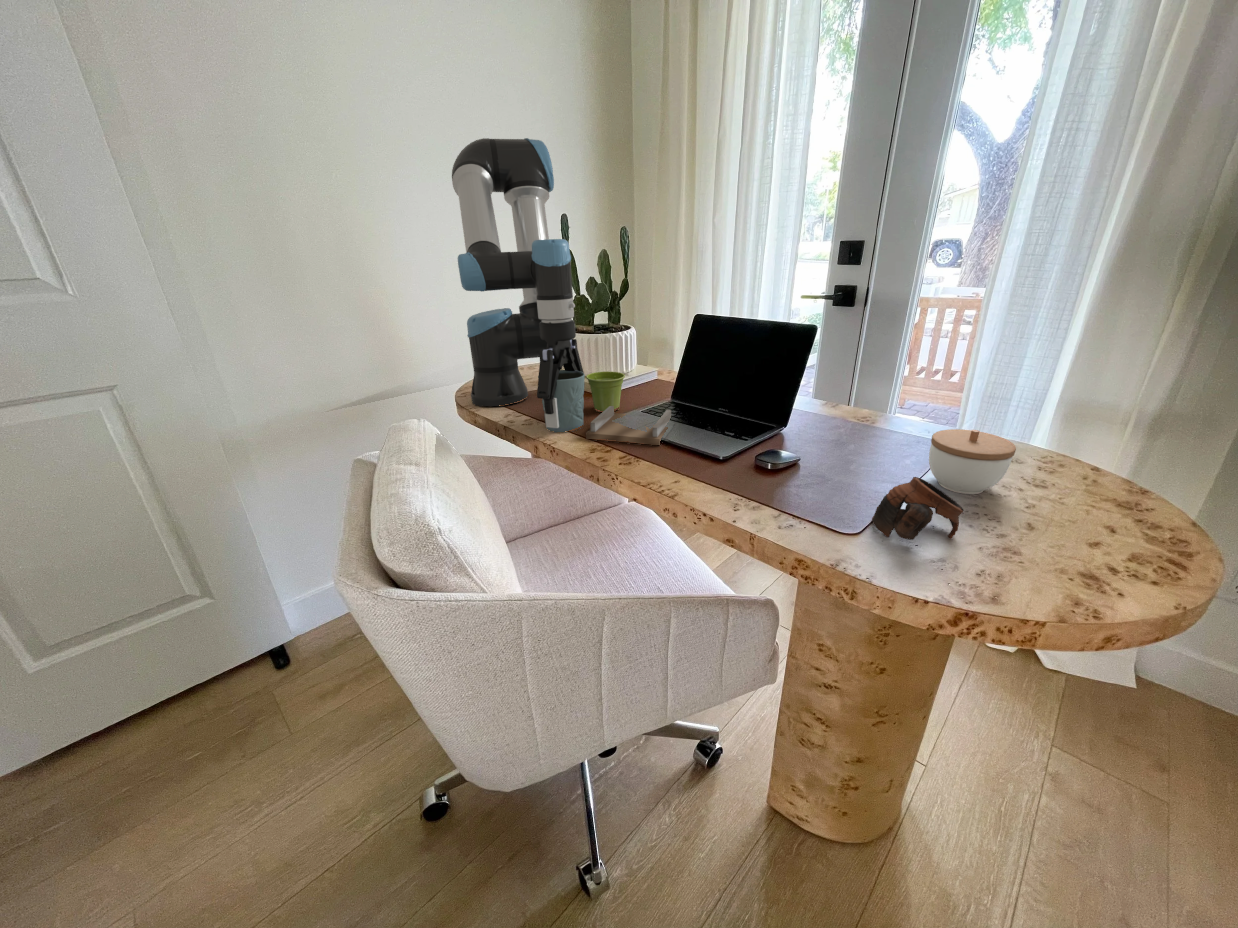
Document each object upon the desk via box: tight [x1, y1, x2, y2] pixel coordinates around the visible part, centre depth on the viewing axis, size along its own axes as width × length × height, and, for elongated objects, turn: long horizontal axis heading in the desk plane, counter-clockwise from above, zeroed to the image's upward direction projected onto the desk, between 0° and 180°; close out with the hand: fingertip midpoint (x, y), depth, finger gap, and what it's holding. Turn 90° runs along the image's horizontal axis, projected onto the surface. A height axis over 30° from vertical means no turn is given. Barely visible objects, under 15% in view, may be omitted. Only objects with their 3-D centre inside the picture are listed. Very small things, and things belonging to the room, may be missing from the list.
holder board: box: [585, 406, 672, 446], centre depth 106 cm, size 16×14×4 cm
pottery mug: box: [871, 476, 965, 541], centre depth 65 cm, size 12×10×8 cm
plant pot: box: [585, 370, 626, 411], centre depth 120 cm, size 9×9×9 cm
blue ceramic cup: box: [537, 369, 586, 433], centre depth 110 cm, size 10×10×12 cm
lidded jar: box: [928, 428, 1017, 495], centre depth 77 cm, size 11×11×9 cm
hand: (565, 418), depth 111 cm, fingers open, 12 cm apart
